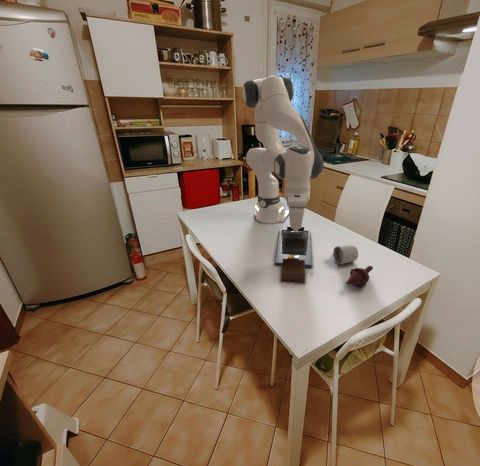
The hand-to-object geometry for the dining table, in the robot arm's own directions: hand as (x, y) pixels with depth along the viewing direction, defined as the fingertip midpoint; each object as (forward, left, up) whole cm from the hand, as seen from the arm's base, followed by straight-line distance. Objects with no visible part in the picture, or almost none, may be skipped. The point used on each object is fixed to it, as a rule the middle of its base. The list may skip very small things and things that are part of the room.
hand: (295, 229), depth 99 cm
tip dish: (0, 0, -7) cm, 7 cm away
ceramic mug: (-18, +15, -19) cm, 30 cm away
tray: (-16, -8, -19) cm, 26 cm away
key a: (-9, -5, -17) cm, 20 cm away
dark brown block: (+4, +2, -19) cm, 19 cm away
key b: (-9, -5, -18) cm, 21 cm away
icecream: (-5, +25, -19) cm, 32 cm away
